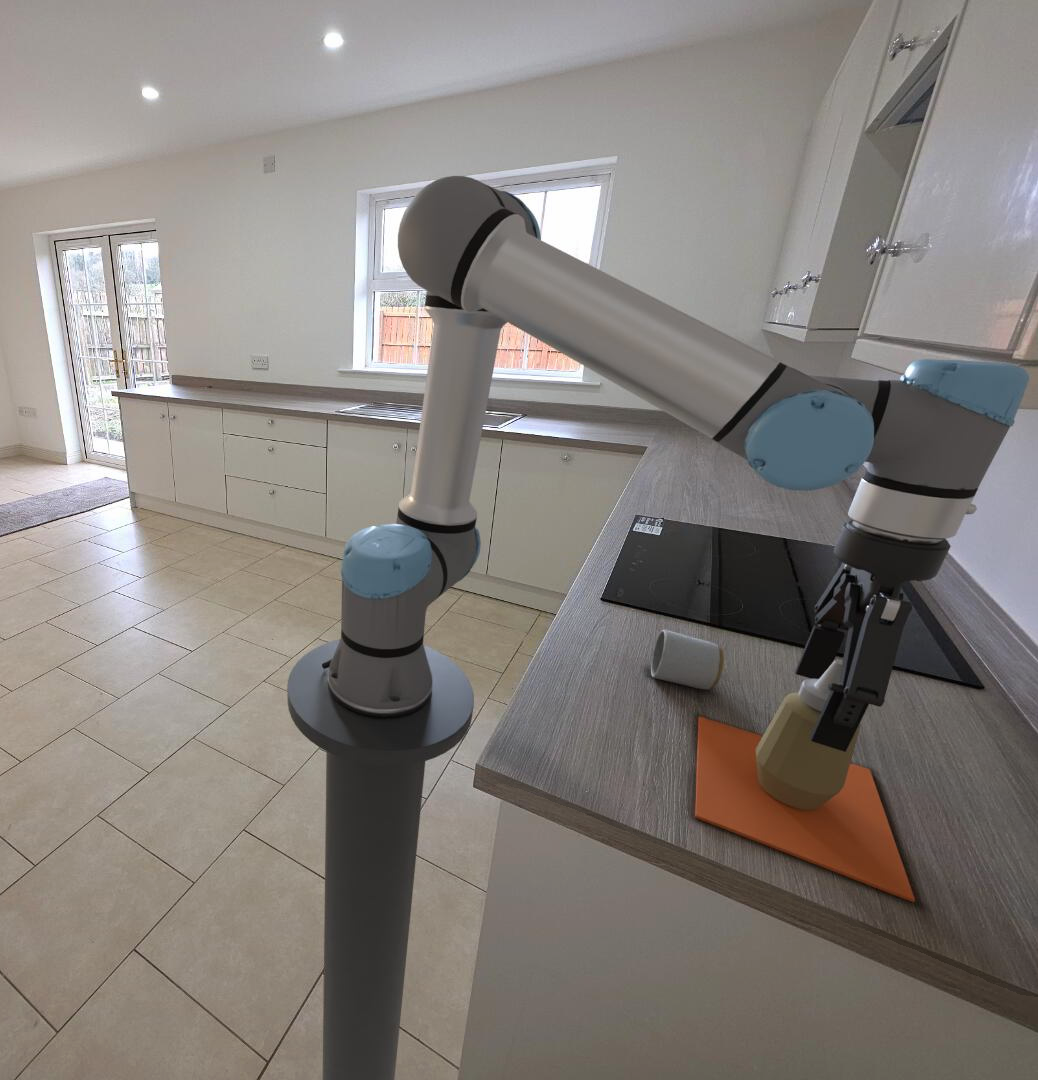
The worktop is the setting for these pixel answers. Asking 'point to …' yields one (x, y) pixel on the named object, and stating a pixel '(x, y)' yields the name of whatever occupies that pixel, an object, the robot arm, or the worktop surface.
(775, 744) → the squeeze bottle
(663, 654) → the ceramic mug
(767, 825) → the napkin
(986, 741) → the worktop surface
